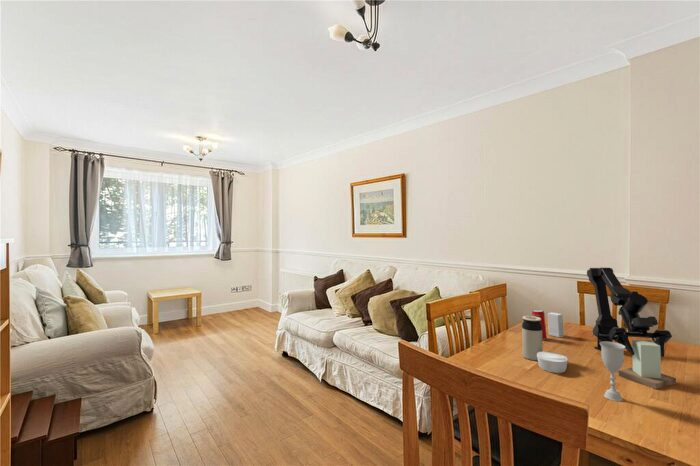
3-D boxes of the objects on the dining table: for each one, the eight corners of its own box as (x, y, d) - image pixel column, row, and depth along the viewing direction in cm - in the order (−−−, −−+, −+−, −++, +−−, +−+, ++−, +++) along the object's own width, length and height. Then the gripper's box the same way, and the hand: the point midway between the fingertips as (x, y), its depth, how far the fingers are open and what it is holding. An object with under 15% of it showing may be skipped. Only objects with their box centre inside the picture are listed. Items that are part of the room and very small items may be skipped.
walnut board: (638, 370, 134) (638, 366, 134) (675, 383, 123) (675, 378, 123) (618, 375, 130) (618, 370, 130) (656, 389, 119) (655, 383, 119)
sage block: (632, 370, 130) (632, 339, 130) (651, 371, 128) (650, 340, 128) (641, 376, 124) (640, 344, 124) (660, 378, 123) (660, 346, 123)
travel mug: (523, 359, 148) (522, 319, 148) (521, 353, 155) (521, 315, 155) (544, 361, 145) (543, 320, 145) (541, 355, 152) (540, 316, 152)
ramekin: (557, 376, 130) (557, 363, 130) (530, 366, 140) (530, 354, 140) (574, 370, 136) (573, 358, 136) (547, 361, 145) (546, 349, 145)
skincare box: (564, 336, 179) (563, 314, 179) (558, 337, 177) (558, 315, 177) (552, 333, 184) (552, 311, 184) (547, 334, 182) (547, 312, 182)
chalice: (595, 392, 117) (594, 341, 117) (613, 391, 117) (612, 340, 117) (613, 403, 110) (612, 349, 110) (632, 402, 110) (631, 348, 110)
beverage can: (548, 340, 173) (547, 311, 173) (534, 340, 174) (534, 311, 174) (544, 337, 178) (543, 309, 178) (531, 336, 180) (530, 308, 180)
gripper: (611, 307, 133) (626, 343, 122) (668, 309, 128) (689, 347, 117) (602, 321, 140) (616, 357, 130) (656, 324, 135) (674, 361, 125)
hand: (648, 355), depth 125 cm, fingers open, 9 cm apart
